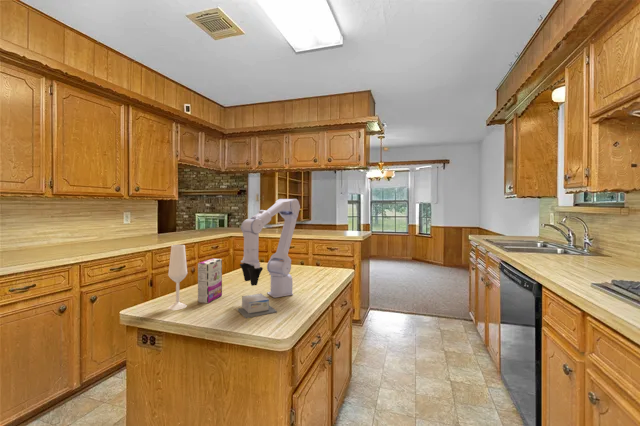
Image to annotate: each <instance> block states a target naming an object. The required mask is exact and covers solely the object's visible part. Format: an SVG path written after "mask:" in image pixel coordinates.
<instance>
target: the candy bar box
mask: <svg viewBox="0 0 640 426" xmlns="http://www.w3.org/2000/svg"><path fill="white" fill-rule="evenodd" d="M222 272H223V259H222V258H210V259H206V260H204V261H200V262H198V263H197V303H200V304H210V303H211V302H213V301H215V300H217V299H219V298H220V297H222V296H223V273H222Z"/></svg>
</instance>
